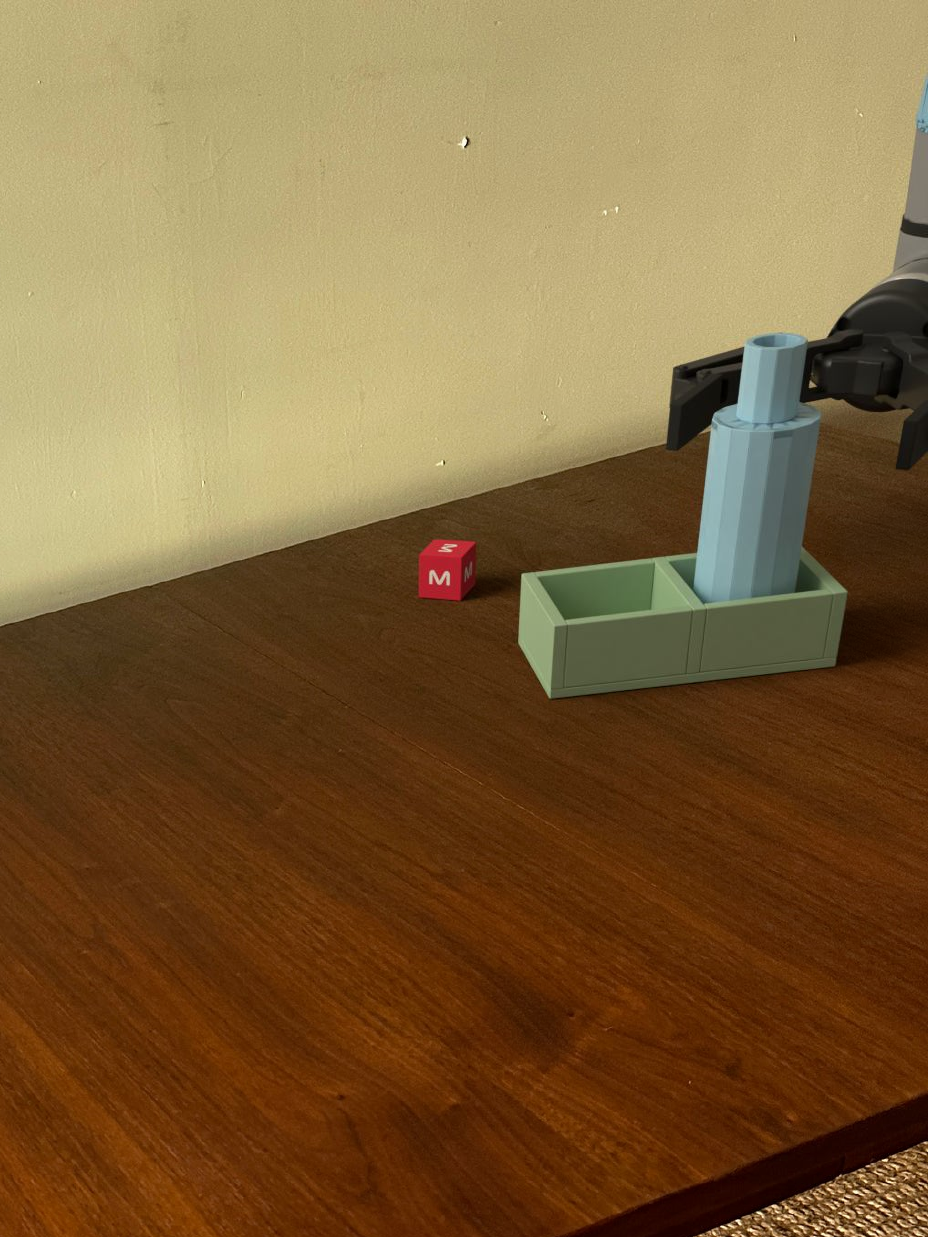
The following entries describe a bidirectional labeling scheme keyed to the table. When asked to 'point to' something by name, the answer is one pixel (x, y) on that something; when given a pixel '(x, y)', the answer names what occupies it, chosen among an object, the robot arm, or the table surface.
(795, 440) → the bottle
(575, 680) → the holder
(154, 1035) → the table surface
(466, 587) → the red letter cube
